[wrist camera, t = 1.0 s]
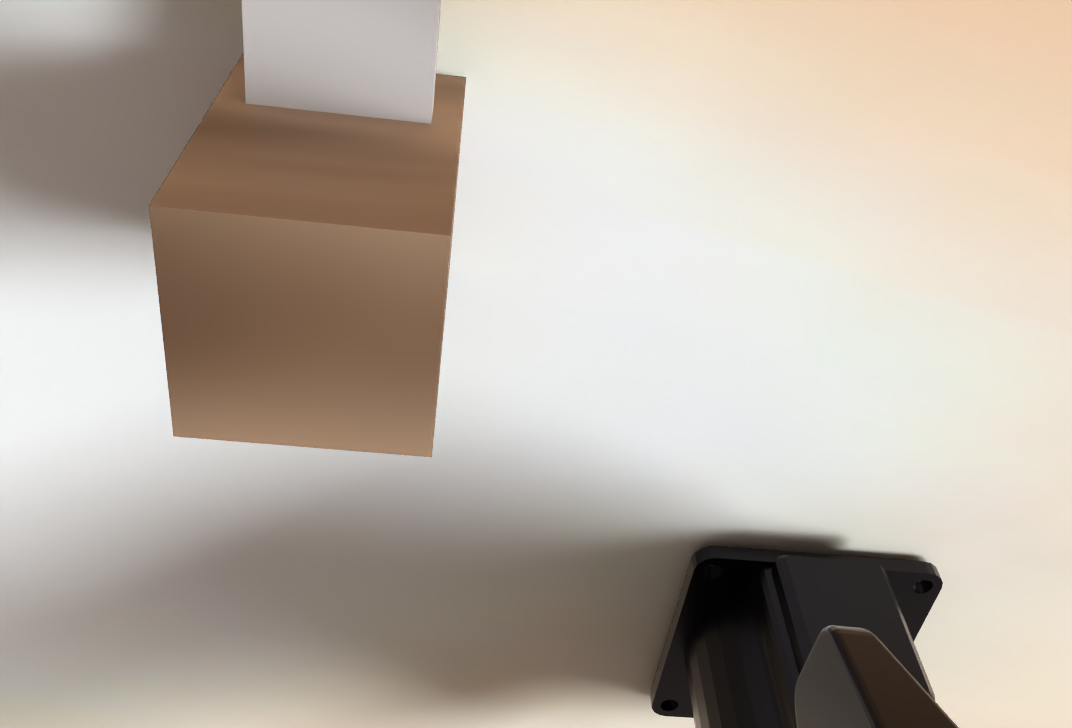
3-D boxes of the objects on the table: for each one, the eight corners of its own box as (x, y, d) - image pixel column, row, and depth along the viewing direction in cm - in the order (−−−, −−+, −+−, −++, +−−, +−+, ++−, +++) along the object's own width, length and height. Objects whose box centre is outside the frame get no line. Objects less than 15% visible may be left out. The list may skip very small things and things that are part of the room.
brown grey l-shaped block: (449, 264, 21) (432, 457, 16) (252, 245, 21) (173, 436, 16) (515, -484, 14) (518, -540, 9) (219, -533, 14) (62, -617, 9)
